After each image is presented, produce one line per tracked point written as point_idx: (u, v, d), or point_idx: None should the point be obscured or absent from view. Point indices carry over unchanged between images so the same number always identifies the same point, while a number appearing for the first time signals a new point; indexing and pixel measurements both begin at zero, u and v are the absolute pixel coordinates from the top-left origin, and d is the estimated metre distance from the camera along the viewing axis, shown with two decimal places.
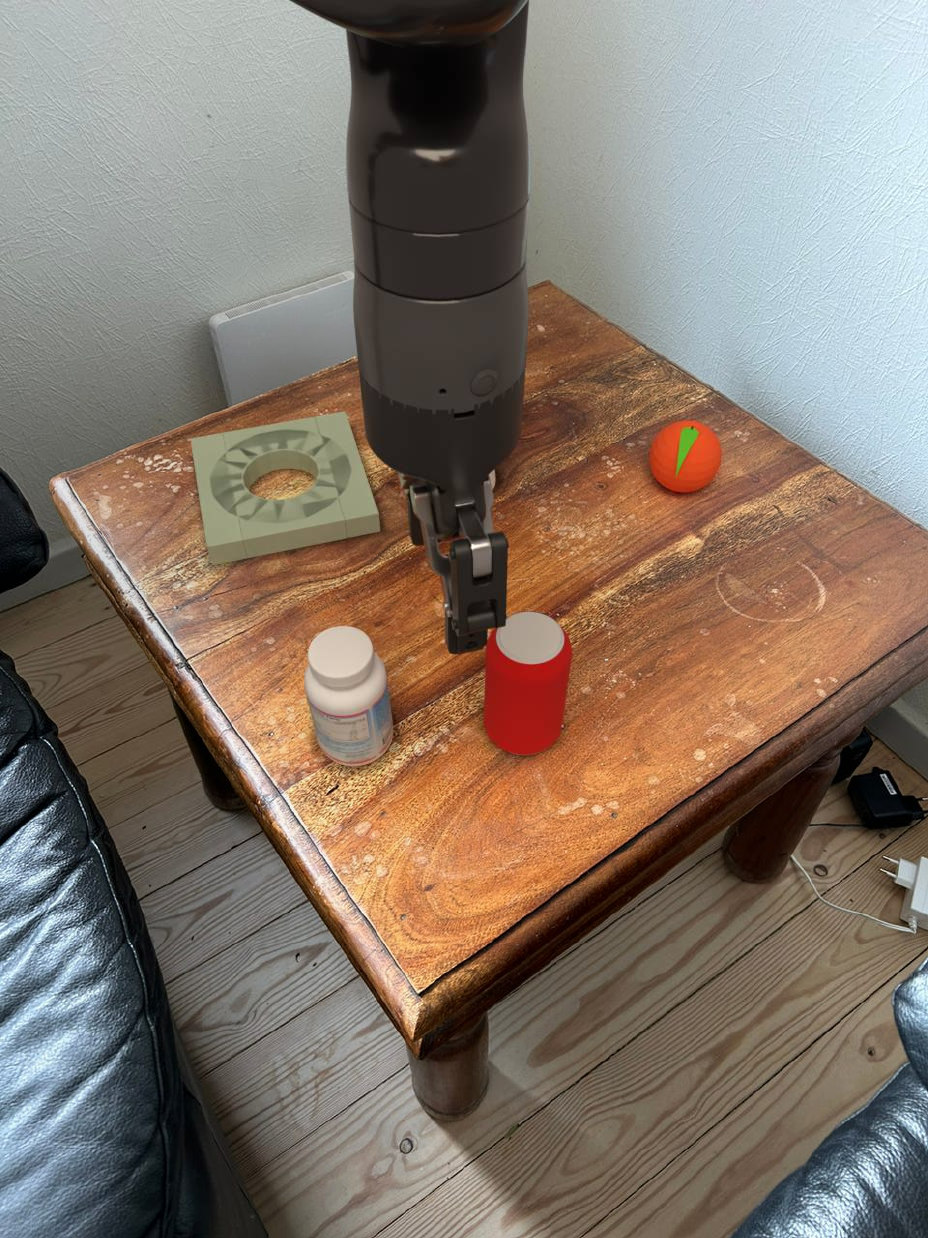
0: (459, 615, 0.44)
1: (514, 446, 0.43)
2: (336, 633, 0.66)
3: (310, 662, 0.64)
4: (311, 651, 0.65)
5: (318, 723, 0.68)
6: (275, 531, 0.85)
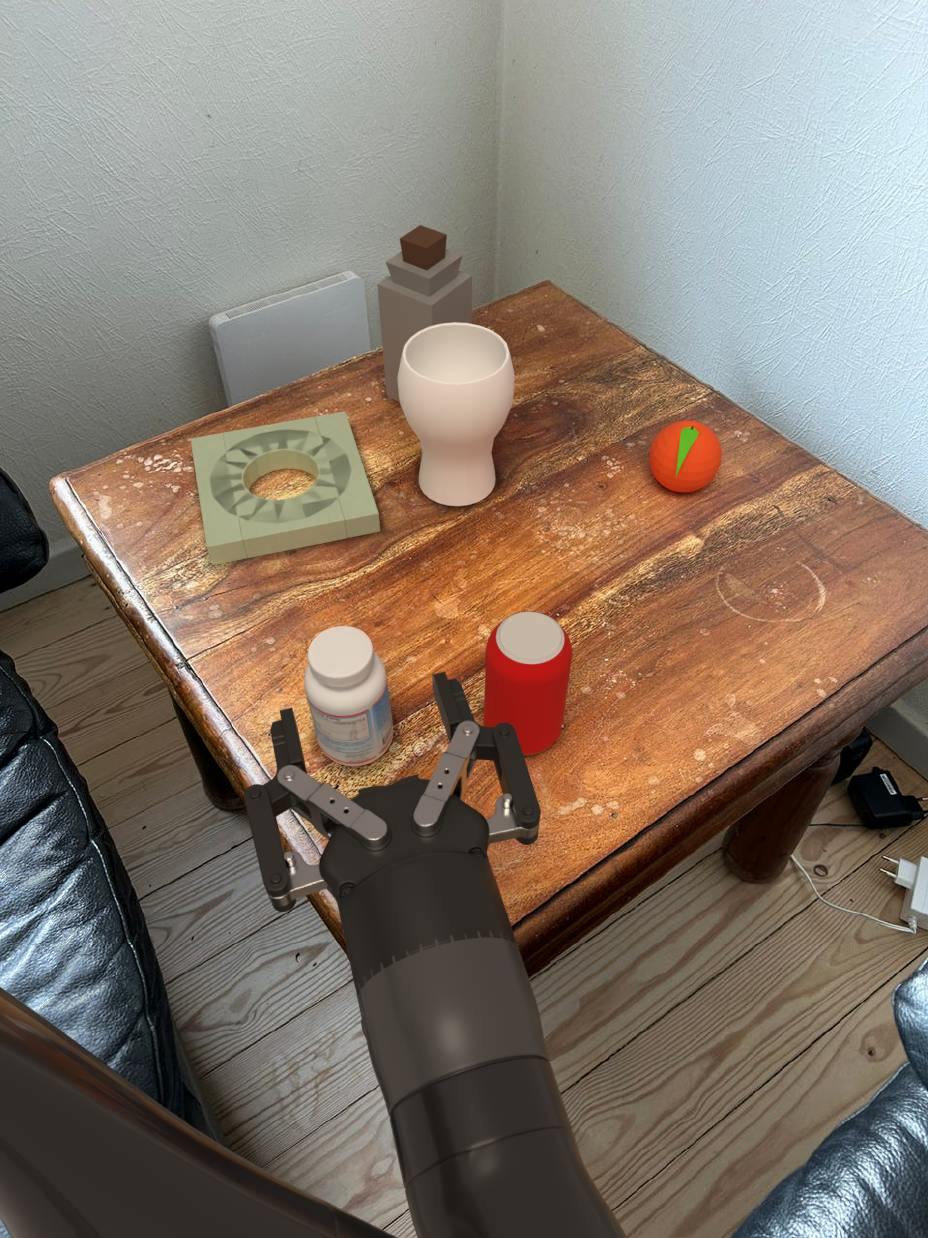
0: None
1: None
2: (336, 633, 0.66)
3: (310, 662, 0.64)
4: (311, 651, 0.65)
5: (318, 723, 0.68)
6: (275, 531, 0.85)
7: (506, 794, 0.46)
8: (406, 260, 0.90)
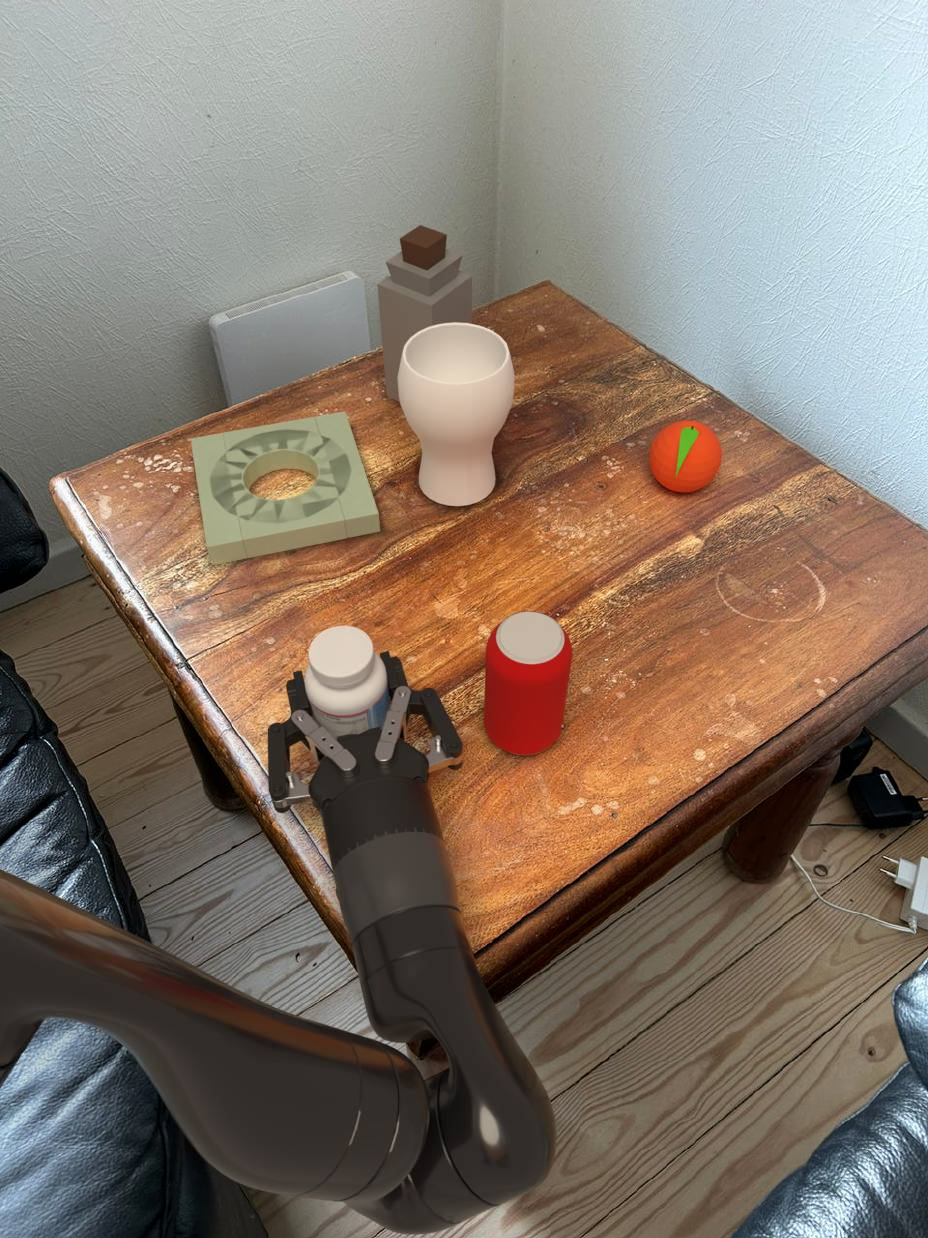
0: None
1: None
2: (337, 632, 0.66)
3: (311, 661, 0.64)
4: (312, 651, 0.65)
5: (318, 723, 0.68)
6: (275, 531, 0.85)
7: (437, 736, 0.65)
8: (406, 260, 0.90)
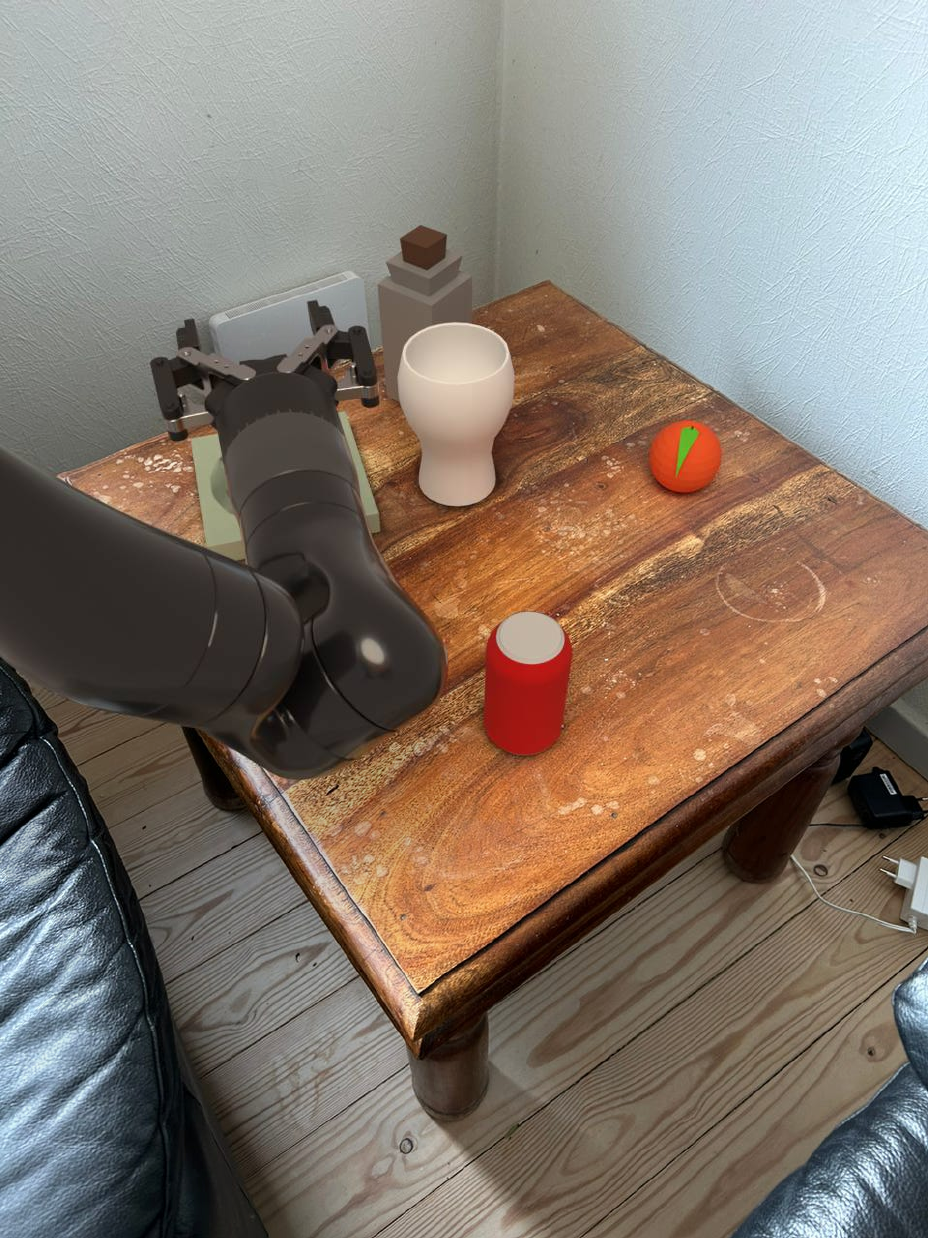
0: None
1: None
2: None
3: None
4: None
5: None
6: None
7: (352, 362, 0.59)
8: (406, 260, 0.90)
